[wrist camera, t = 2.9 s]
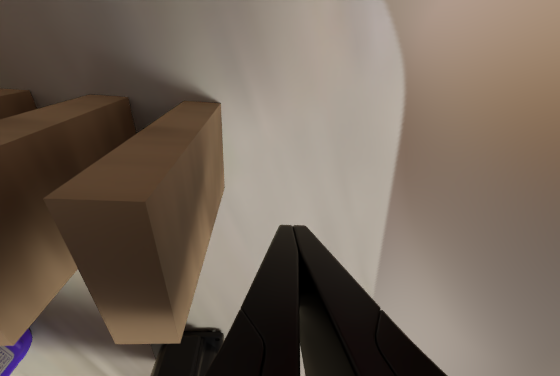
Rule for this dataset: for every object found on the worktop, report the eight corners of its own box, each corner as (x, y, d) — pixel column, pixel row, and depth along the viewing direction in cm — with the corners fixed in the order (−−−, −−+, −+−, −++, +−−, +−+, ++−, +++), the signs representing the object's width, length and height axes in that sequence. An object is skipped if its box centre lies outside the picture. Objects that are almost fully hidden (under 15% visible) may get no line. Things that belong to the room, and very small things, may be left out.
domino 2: (224, 187, 15) (180, 343, 7) (194, 186, 15) (115, 344, 7) (220, 103, 12) (145, 201, 5) (184, 100, 12) (42, 198, 4)
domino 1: (148, 184, 14) (13, 345, 7) (116, 183, 14) (-59, 346, 7) (128, 97, 12) (-124, 192, 4) (89, 94, 12) (-246, 188, 4)
